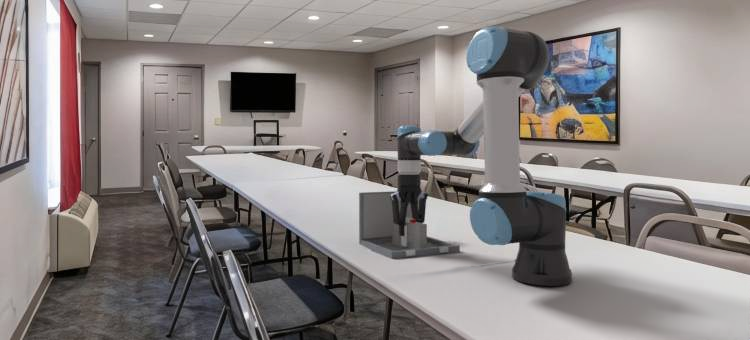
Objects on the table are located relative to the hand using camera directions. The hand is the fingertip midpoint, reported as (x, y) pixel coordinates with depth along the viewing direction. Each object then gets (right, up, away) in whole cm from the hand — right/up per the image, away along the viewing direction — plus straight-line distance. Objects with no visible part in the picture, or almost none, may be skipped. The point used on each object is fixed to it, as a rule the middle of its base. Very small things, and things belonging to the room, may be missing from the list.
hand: (409, 245), depth 167 cm
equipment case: (0, -1, 0) cm, 1 cm away
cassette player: (0, -1, 0) cm, 1 cm away
